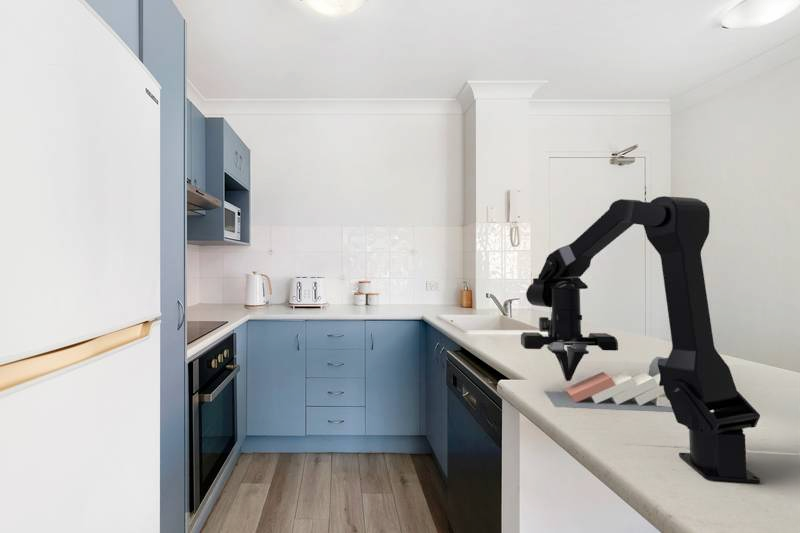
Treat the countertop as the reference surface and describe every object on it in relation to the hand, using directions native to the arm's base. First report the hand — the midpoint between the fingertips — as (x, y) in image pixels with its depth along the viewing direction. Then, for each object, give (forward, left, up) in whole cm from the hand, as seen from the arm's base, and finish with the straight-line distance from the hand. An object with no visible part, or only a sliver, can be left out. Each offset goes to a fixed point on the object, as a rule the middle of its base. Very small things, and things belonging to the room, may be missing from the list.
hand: (567, 380), depth 78 cm
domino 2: (0, -4, -3) cm, 6 cm away
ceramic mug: (+10, -26, -5) cm, 29 cm away
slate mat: (0, -7, -4) cm, 9 cm away
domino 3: (0, -8, -3) cm, 9 cm away
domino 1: (0, 0, -3) cm, 3 cm away
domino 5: (0, -17, -3) cm, 17 cm away
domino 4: (0, -13, -3) cm, 13 cm away
